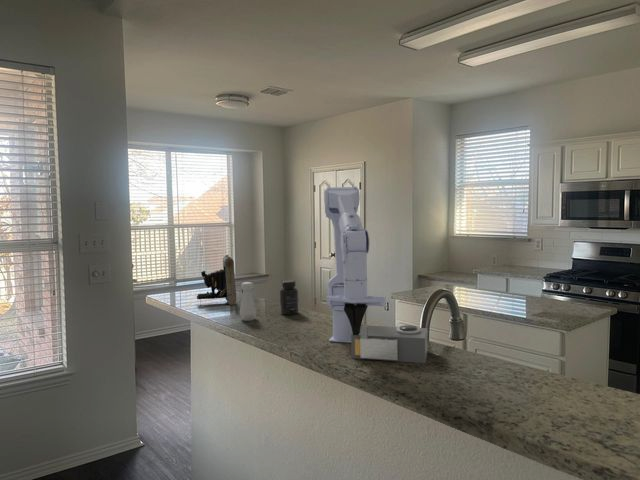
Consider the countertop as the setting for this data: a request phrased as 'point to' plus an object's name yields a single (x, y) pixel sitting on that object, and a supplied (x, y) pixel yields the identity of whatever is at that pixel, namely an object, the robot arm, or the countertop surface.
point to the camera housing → (409, 342)
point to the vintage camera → (221, 282)
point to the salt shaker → (247, 302)
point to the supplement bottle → (289, 298)
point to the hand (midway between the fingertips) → (356, 334)
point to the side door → (377, 347)
